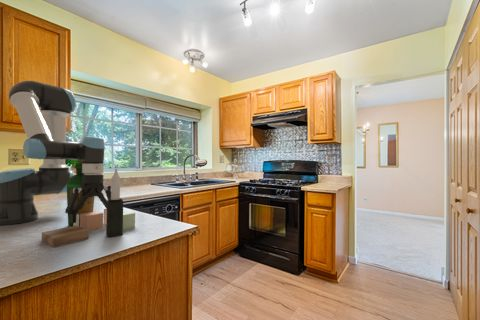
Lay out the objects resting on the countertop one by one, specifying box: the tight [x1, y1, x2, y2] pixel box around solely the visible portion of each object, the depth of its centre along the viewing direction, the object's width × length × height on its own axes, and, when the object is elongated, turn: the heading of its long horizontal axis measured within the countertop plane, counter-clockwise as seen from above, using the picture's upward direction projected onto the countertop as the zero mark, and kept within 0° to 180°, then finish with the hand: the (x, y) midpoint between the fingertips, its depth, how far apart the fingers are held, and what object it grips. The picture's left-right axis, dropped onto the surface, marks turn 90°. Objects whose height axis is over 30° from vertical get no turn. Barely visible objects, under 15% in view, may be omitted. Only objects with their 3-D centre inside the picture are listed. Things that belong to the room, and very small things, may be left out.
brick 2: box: [123, 210, 136, 230], centre depth 94 cm, size 6×6×6 cm
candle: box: [105, 168, 124, 238], centre depth 84 cm, size 5×5×25 cm
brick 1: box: [80, 210, 104, 231], centre depth 92 cm, size 6×6×6 cm
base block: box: [41, 226, 90, 248], centre depth 78 cm, size 10×10×3 cm
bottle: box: [66, 160, 95, 227], centre depth 96 cm, size 11×11×28 cm
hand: (91, 227), depth 92 cm, fingers open, 11 cm apart
